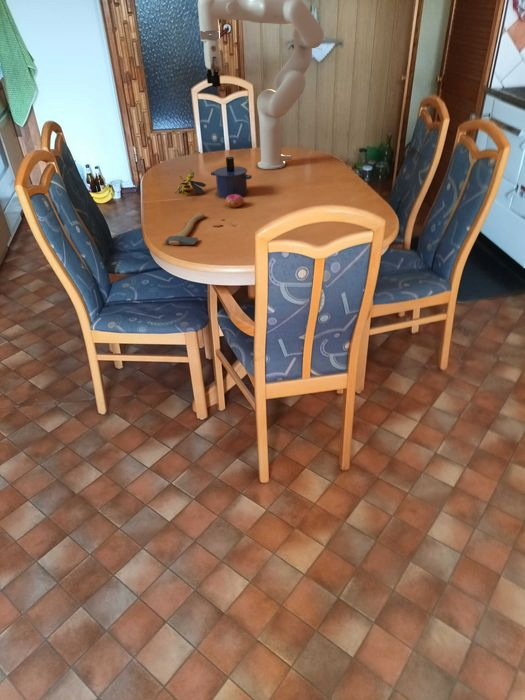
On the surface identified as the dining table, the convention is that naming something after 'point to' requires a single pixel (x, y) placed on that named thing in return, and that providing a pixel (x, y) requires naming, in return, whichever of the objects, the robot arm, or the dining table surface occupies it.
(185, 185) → the toy
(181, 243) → the hand axe
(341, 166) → the dining table surface
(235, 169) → the pot lid
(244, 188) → the pot
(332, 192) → the dining table surface
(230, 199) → the donut
